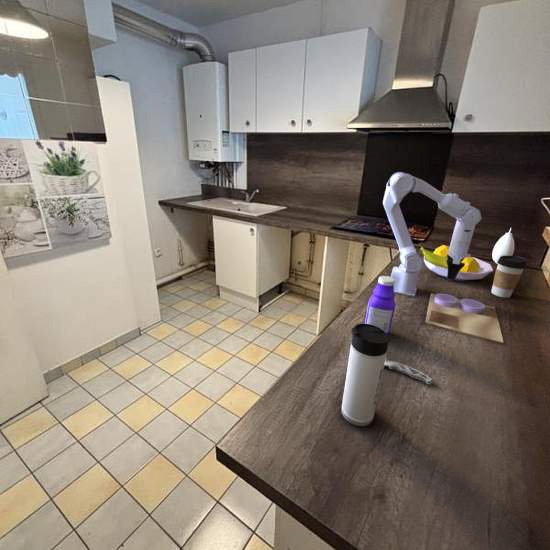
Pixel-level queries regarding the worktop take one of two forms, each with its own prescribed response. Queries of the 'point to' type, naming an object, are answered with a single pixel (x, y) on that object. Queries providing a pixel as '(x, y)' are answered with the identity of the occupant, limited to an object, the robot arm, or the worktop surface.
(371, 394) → the travel mug
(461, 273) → the fruit bowl
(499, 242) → the white teardrop shape
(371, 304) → the bottle
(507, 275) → the coffee cup
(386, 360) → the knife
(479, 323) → the board
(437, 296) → the saucer
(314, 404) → the worktop surface
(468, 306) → the saucer
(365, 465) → the worktop surface
